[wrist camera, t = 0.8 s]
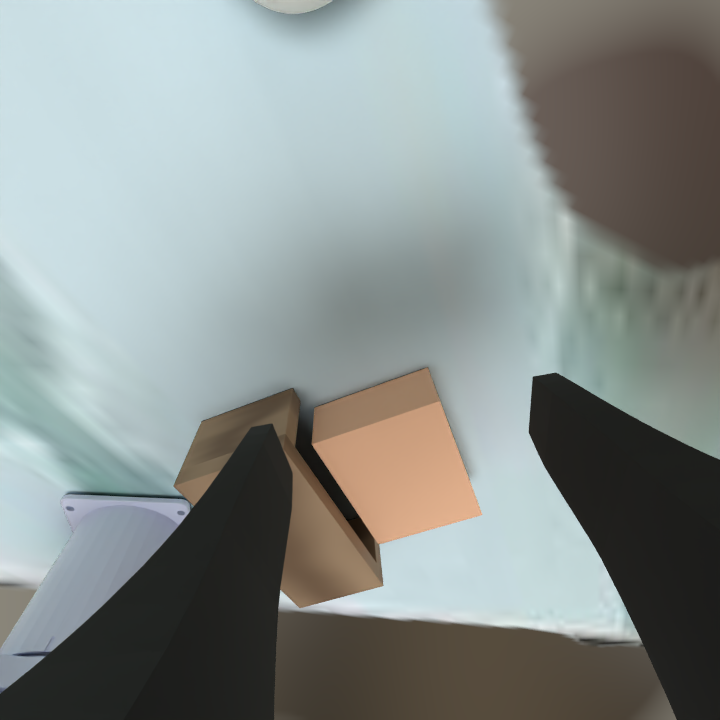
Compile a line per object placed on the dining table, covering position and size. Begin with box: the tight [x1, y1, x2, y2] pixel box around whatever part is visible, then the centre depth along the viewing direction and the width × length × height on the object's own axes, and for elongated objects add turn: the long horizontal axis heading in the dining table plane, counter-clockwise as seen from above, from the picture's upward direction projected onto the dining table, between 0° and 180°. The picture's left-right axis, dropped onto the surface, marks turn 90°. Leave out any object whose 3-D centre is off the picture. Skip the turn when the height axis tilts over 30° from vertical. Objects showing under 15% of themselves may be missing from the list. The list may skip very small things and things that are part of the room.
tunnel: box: [174, 388, 383, 608], centre depth 24 cm, size 6×14×5 cm, turn 22°
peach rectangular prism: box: [312, 367, 482, 544], centre depth 23 cm, size 7×10×3 cm
